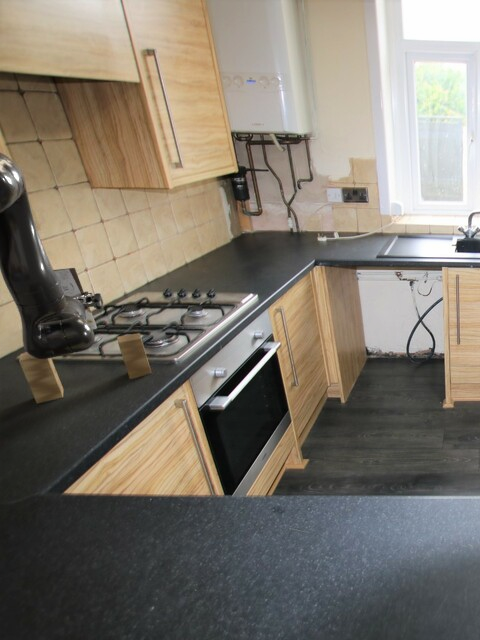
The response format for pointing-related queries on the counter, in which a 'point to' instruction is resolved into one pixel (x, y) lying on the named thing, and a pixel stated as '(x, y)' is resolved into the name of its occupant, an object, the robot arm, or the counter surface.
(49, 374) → the birch block
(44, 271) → the robot arm
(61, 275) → the coffee box
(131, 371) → the birch block
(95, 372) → the counter surface
